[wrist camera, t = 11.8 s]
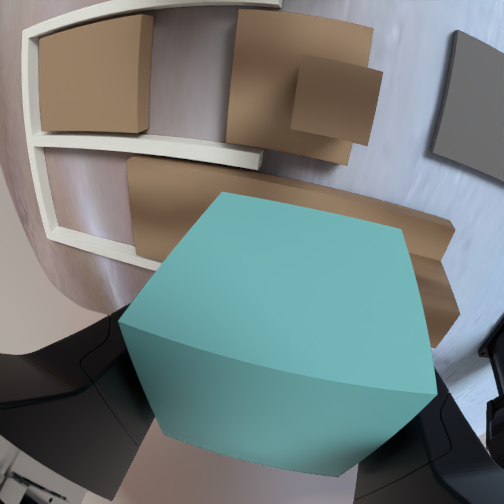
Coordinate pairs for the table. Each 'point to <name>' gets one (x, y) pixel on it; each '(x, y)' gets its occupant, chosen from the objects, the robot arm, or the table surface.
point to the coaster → (473, 107)
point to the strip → (291, 192)
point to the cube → (283, 336)
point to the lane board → (104, 101)
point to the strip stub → (301, 85)
